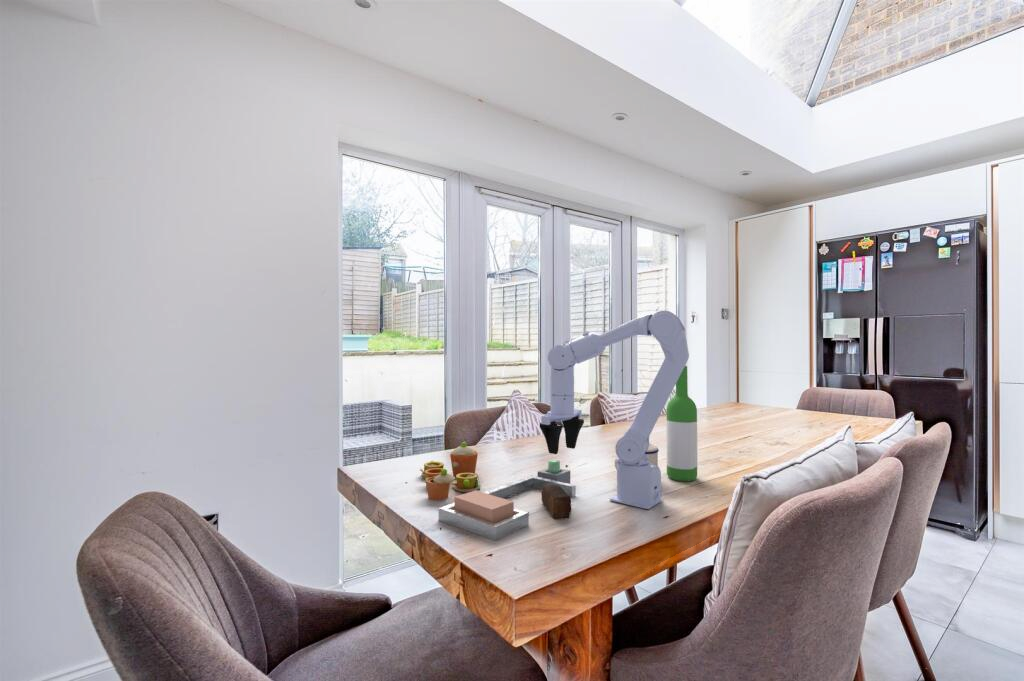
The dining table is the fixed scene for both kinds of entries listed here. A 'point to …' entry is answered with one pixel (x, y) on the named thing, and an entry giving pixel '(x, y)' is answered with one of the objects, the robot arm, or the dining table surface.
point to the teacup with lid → (649, 455)
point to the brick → (556, 501)
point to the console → (556, 475)
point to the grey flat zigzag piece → (507, 525)
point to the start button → (554, 466)
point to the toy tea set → (462, 471)
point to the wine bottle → (682, 433)
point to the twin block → (484, 506)
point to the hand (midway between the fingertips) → (562, 450)
